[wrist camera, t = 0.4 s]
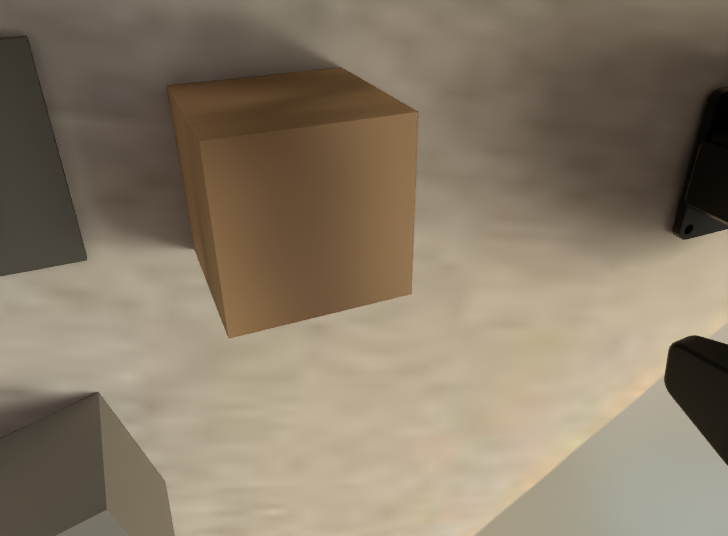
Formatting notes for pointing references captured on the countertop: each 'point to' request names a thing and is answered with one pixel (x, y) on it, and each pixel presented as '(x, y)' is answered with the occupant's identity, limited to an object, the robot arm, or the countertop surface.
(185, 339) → the countertop surface
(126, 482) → the grey cube
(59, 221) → the mat
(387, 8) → the countertop surface
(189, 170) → the walnut cube
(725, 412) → the robot arm
